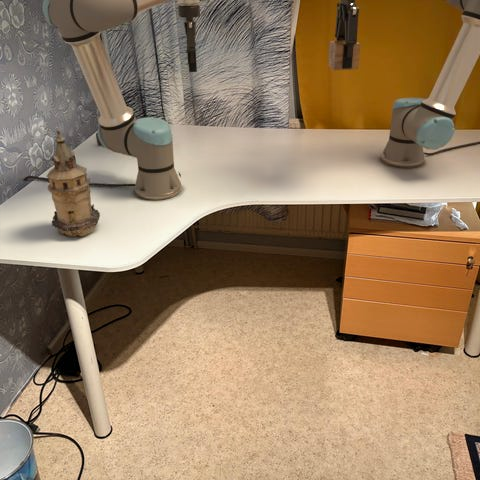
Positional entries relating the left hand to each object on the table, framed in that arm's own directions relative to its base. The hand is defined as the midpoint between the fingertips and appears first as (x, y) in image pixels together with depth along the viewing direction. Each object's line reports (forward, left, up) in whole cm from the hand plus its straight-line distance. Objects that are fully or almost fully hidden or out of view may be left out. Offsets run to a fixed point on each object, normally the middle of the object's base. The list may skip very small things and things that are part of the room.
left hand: (192, 67), depth 195 cm
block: (+46, -37, +6) cm, 59 cm away
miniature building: (-36, -60, -32) cm, 77 cm away
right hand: (+46, -37, +7) cm, 59 cm away
